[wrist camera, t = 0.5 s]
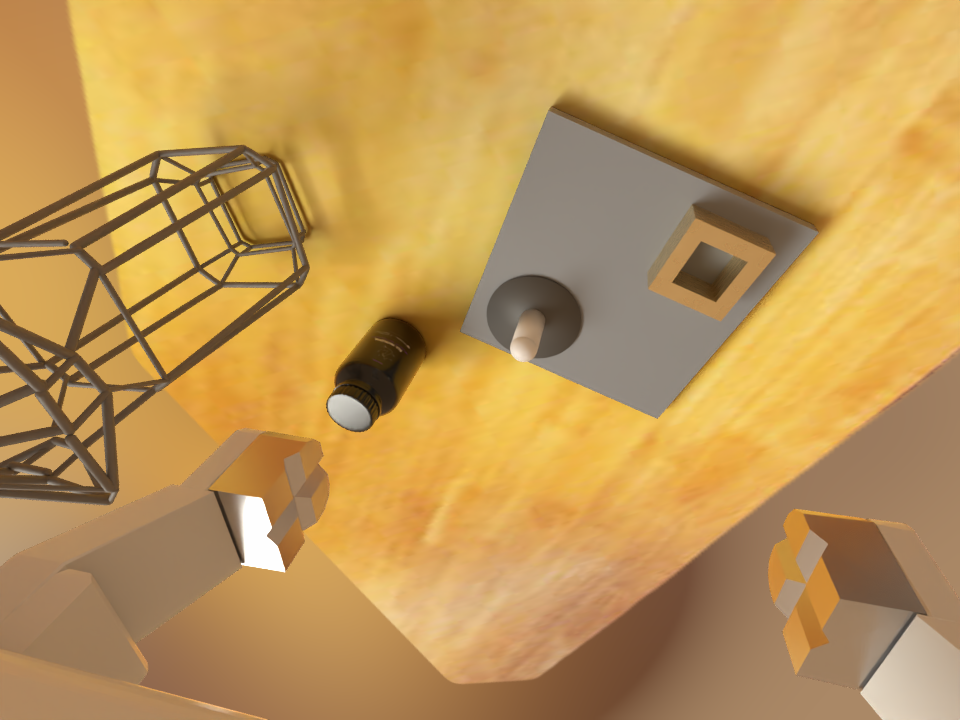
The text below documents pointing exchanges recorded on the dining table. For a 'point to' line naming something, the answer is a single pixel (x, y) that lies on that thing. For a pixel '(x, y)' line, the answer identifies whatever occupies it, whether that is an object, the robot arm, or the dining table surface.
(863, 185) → the dining table surface
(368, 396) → the supplement bottle
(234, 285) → the geometric lantern
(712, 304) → the wooden collar
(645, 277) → the post board
